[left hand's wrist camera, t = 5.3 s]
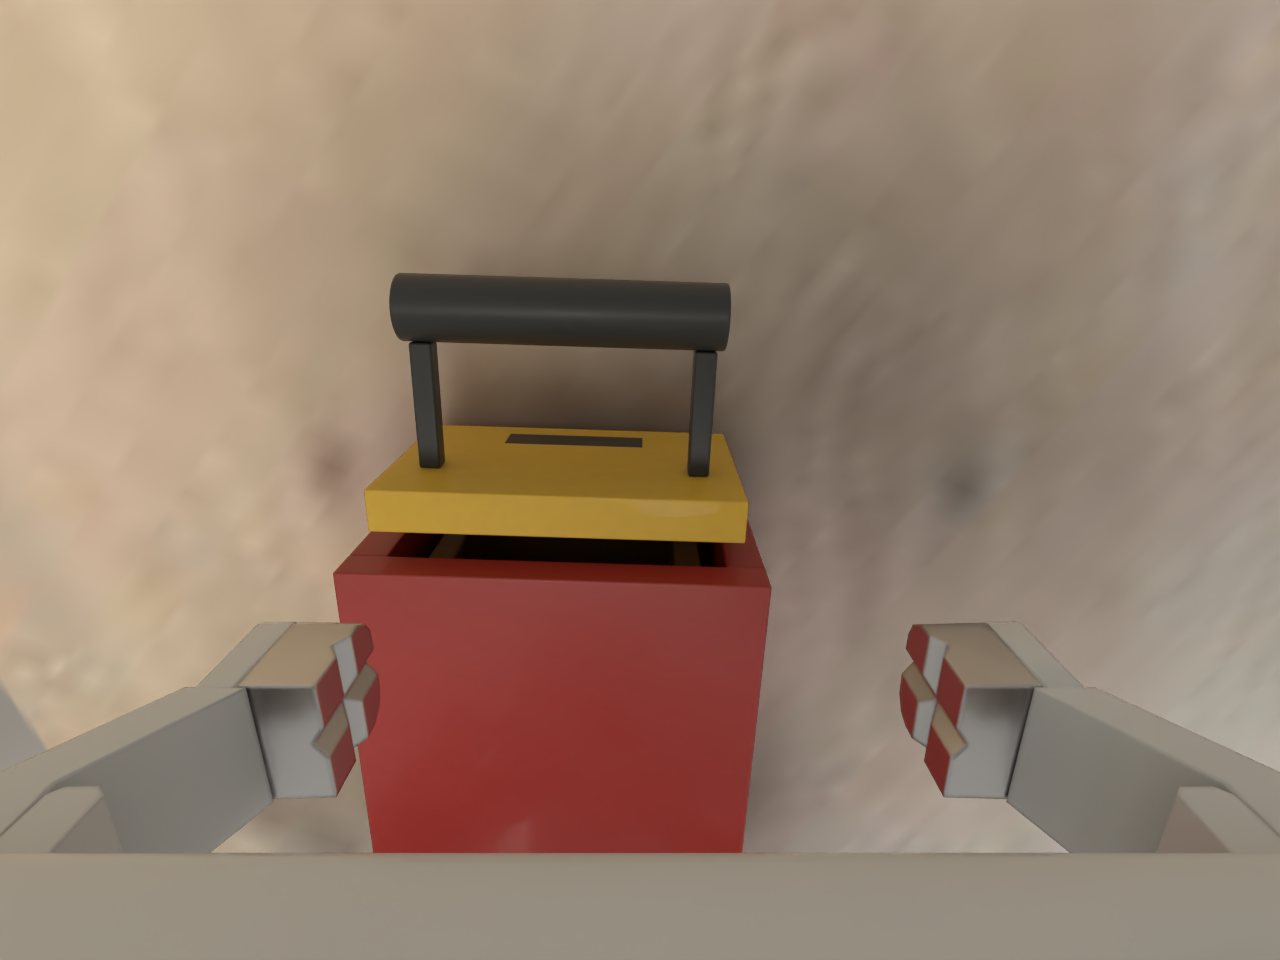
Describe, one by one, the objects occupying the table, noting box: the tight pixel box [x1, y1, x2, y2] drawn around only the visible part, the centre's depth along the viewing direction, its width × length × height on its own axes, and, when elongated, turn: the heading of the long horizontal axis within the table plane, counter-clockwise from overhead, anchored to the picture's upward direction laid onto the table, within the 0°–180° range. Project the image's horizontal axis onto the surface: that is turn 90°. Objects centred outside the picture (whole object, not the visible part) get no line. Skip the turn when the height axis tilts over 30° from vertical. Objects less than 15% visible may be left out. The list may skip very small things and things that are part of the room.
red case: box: [333, 519, 771, 853], centre depth 24 cm, size 19×11×8 cm, turn 178°
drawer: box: [364, 273, 749, 567], centre depth 22 cm, size 22×10×6 cm, turn 178°
